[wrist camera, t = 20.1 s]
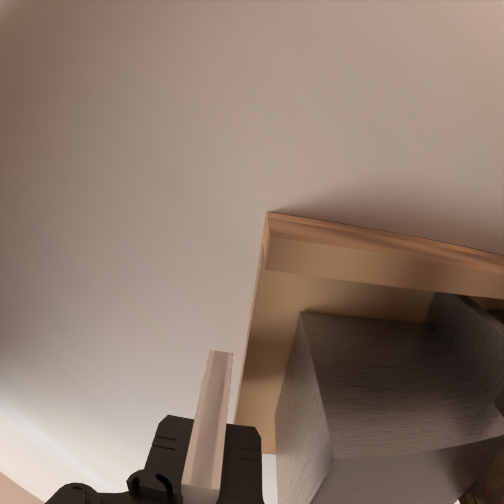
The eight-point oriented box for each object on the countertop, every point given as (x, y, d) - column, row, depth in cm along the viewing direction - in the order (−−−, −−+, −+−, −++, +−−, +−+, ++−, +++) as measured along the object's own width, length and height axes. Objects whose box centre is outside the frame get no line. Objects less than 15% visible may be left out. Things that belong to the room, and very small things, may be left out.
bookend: (267, 440, 15) (269, 562, 8) (309, 264, 12) (365, 393, 5) (382, 441, 15) (418, 544, 8) (451, 283, 13) (559, 374, 5)
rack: (231, 431, 17) (211, 643, 4) (266, 211, 14) (311, 635, 1) (509, 417, 18) (578, 522, 5) (575, 273, 14) (694, 352, 1)
